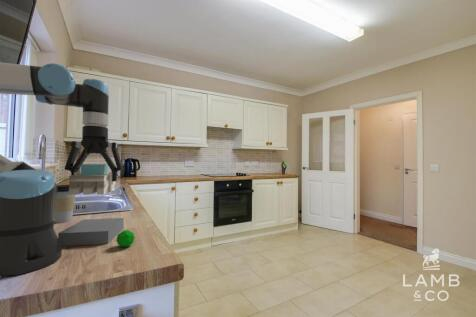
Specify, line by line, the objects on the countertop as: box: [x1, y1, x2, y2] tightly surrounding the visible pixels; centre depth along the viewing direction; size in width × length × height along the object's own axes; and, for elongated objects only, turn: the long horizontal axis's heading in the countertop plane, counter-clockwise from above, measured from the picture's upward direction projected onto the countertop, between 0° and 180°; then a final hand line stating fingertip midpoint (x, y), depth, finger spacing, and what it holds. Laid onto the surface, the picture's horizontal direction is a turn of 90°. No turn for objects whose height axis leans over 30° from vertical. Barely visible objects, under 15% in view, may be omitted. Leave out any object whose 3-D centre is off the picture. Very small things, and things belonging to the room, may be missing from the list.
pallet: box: [68, 172, 117, 196], centre depth 80 cm, size 12×10×6 cm
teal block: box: [80, 163, 109, 175], centre depth 80 cm, size 6×6×4 cm
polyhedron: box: [116, 229, 136, 248], centre depth 71 cm, size 5×5×5 cm
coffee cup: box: [54, 184, 76, 224], centre depth 98 cm, size 9×9×15 cm
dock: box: [57, 217, 125, 247], centre depth 80 cm, size 16×14×4 cm
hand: (94, 191), depth 80 cm, fingers closed on pallet, 10 cm apart
